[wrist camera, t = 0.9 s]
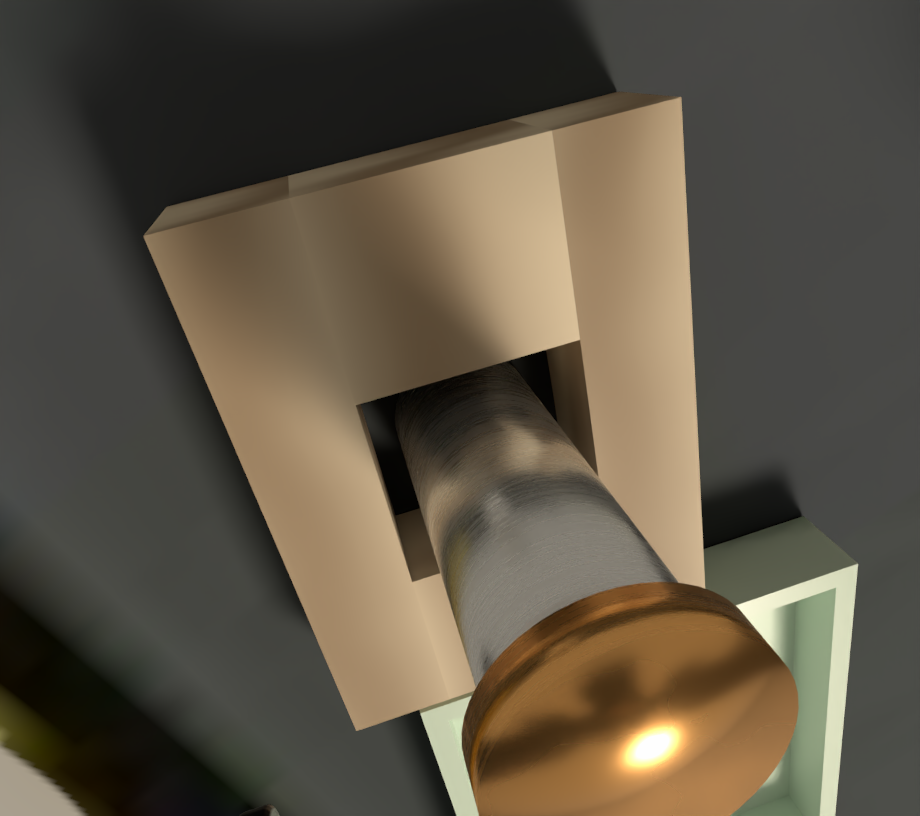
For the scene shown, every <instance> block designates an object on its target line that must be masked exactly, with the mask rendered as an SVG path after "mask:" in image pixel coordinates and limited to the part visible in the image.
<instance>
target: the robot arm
mask: <svg viewBox="0 0 920 816" xmlns="http://www.w3.org/2000/svg"><path fill="white" fill-rule="evenodd" d="M239 816H280V815H279V813H278V811H277V810H276V808H275V807H274V806H272V805H270V804H267V805H264V806H261V807H258V808H255V809H252V810H249V811H246V812H244V813H242V814H240V815H239Z"/></svg>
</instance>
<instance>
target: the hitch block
mask: <svg viewBox="0 0 920 816" xmlns="http://www.w3.org/2000/svg"><path fill="white" fill-rule="evenodd" d="M143 237H144V239H145V241H146V244H147V246H148V248H149V251H150V253H151V255H152V258H153V260H154V262H155V265H156V267H157V269H158V272H159V274H160V276H161V279H162V281H163V283H164V286H165V288H166V290H167V293H168V295H169V297H170V299H171V302H172V304H173V306H174V309H175V311H176V313H177V316H178V318H179V320H180V323H181V325H182V327H183V330H184V332H185V334H186V337H187V339H188V341H189V344H190V346H191V348H192V351H193V353H194V355H195V357H196V360H197V362H198V364H199V367H200V369H201V371H202V374H203V376H204V378H205V381H206V383H207V385H208V388H209V390H210V392H211V395H212V397H213V399H214V402H215V404H216V406H217V409H218V411H219V413H220V415H221V418H222V420H223V422H224V425H225V427H226V429H227V432H228V434H229V436H230V439H231V441H232V443H233V446H234V448H235V450H236V453H237V455H238V457H239V460H240V462H241V464H242V467H243V469H244V471H245V474H246V476H247V478H248V480H249V483H250V485H251V487H252V490H253V492H254V494H255V497H256V499H257V501H258V504H259V506H260V508H261V511H262V513H263V515H264V518H265V520H266V522H267V525H268V527H269V529H270V532H271V534H272V536H273V538H274V541H275V543H276V545H277V548H278V550H279V552H280V555H281V557H282V559H283V562H284V564H285V566H286V569H287V571H288V573H289V576H290V578H291V580H292V583H293V585H294V587H295V590H296V592H297V594H298V597H299V599H300V601H301V603H302V606H303V608H304V610H305V613H306V615H307V617H308V620H309V622H310V624H311V627H312V629H313V631H314V634H315V636H316V638H317V641H318V643H319V645H320V648H321V650H322V652H323V655H324V657H325V659H326V661H327V664H328V666H329V668H330V671H331V673H332V675H333V678H334V680H335V682H336V685H337V687H338V689H339V692H340V694H341V696H342V699H343V701H344V703H345V706H346V708H347V710H348V713H349V715H350V717H351V719H352V722H353V724H354V726H355V729H356V731H358V730H361V729H364V728H367V727H370V726H373V725H376V724H379V723H382V722H385V721H388V720H390V719H393V718H396V717H399V716H402V715H405V714H408V713H411V712H414V711H417V710H420V709H423V708H426V707H428V706H431V705H434V704H437V703H440V702H443V701H446V700H449V699H452V698H455V697H458V696H461V695H464V694H467V693H469V692H472V691H475V689H476V686H475V683H474V680H473V677H472V673H471V670H470V667H469V664H468V661H467V657H466V654H465V651H464V648H463V644H462V641H461V638H460V635H459V632H458V628H457V625H456V622H455V619H454V615H453V612H452V609H451V606H450V602H449V599H448V596H447V593H446V590H445V586H444V583H443V580H442V577H441V573H440V570H439V567H438V564H437V561H436V557H435V554H434V551H433V548H432V544H431V541H430V538H429V535H428V532H427V528H426V525H425V522H424V519H423V515H422V512H421V509H420V508H419V509H416V510H412V511H409V512H406V513H403V514H399V515H396V516H395V512H394V509H393V506H392V503H391V500H390V497H389V493H388V490H387V487H386V484H385V481H384V478H383V474H382V471H381V468H380V465H379V462H378V459H377V456H376V452H375V449H374V446H373V443H372V440H371V437H370V433H369V430H368V427H367V424H366V421H365V418H364V414H363V411H362V408H361V405H360V404H362V403H365V402H369V401H372V400H376V399H379V398H382V397H386V396H389V395H393V394H396V393H400V392H403V391H406V390H410V389H413V388H417V387H420V386H423V385H427V384H430V383H434V382H437V381H441V380H444V379H447V378H451V377H454V376H458V375H461V374H465V373H468V372H471V371H475V370H478V369H482V368H485V367H489V366H492V365H495V364H499V363H502V362H506V361H509V360H512V359H516V358H519V357H523V356H526V355H530V354H533V353H536V352H540V351H543V350H546V354H547V360H548V366H549V372H550V378H551V384H552V391H553V397H554V403H555V409H556V415H557V422H558V425H559V426H560V427H561V429H562V430H563V431H564V433H565V434H566V435H567V437H568V438H569V439H570V440H571V442H572V443H573V444H574V446H575V447H576V448H577V450H578V451H579V452H580V454H581V455H582V456H583V457H584V459H585V460H586V461H587V463H588V464H589V465H590V467H591V468H592V469H593V471H594V472H595V473H596V475H597V476H598V477H599V478H600V480H601V481H602V482H603V484H604V485H605V486H606V488H607V489H608V490H609V492H610V493H611V494H612V495H613V497H614V498H615V499H616V501H617V502H618V503H619V505H620V506H621V507H622V509H623V510H624V511H625V512H626V514H627V515H628V516H629V518H630V519H631V520H632V522H633V523H634V524H635V526H636V527H637V528H638V530H639V531H640V532H641V533H642V535H643V536H644V537H645V539H646V540H647V541H648V543H649V544H650V545H651V547H652V548H653V549H654V550H655V552H656V553H657V554H658V556H659V557H660V558H661V560H662V561H663V562H664V564H665V565H666V566H667V568H668V569H669V570H670V571H671V573H672V574H673V575H674V577H675V578H676V579H677V581H678V582H679V583H684V584H689V585H694V586H699V587H702V588H705V572H704V552H703V531H702V511H701V490H700V470H699V450H698V429H697V409H696V388H695V368H694V348H693V327H692V307H691V286H690V266H689V245H688V225H687V205H686V184H685V164H684V143H683V123H682V103H681V97H674V96H662V95H651V94H639V93H627V92H615V93H611V94H607V95H603V96H600V97H596V98H592V99H588V100H584V101H580V102H576V103H572V104H568V105H564V106H560V107H556V108H552V109H549V110H545V111H541V112H537V113H533V114H529V115H525V116H521V117H517V118H513V119H509V120H505V121H501V122H497V123H494V124H490V125H486V126H482V127H478V128H474V129H470V130H466V131H462V132H458V133H454V134H450V135H446V136H442V137H439V138H435V139H431V140H427V141H423V142H419V143H415V144H411V145H407V146H403V147H399V148H395V149H391V150H388V151H384V152H380V153H376V154H372V155H368V156H364V157H360V158H356V159H352V160H348V161H344V162H340V163H336V164H333V165H329V166H325V167H321V168H317V169H313V170H309V171H305V172H301V173H297V174H293V175H289V176H285V177H282V178H278V179H274V180H270V181H266V182H262V183H258V184H254V185H250V186H246V187H242V188H238V189H234V190H230V191H227V192H223V193H219V194H215V195H211V196H207V197H203V198H199V199H195V200H191V201H187V202H183V203H179V204H175V205H172V206H168V207H166V208H165V209H164V211H163V212H162V213H161V214H160V216H159V217H158V218H157V219H156V221H155V222H154V223H153V224H152V226H151V227H150V228H149V229H148V231H147V232H146V233H145V234H144V236H143Z"/></svg>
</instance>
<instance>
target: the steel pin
mask: <svg viewBox="0 0 920 816" xmlns="http://www.w3.org/2000/svg"><path fill="white" fill-rule="evenodd" d="M395 426H396V431H397V435H398V438H399V441H400V445H401V448H402V451H403V454H404V457H405V461H406V464H407V467H408V470H409V474H410V477H411V480H412V483H413V486H414V490H415V493H416V496H417V499H418V503H419V506H420V509H421V512H422V515H423V519H424V522H425V525H426V528H427V532H428V535H429V538H430V541H431V544H432V548H433V551H434V554H435V557H436V561H437V564H438V567H439V570H440V573H441V577H442V580H443V583H444V586H445V590H446V593H447V596H448V599H449V602H450V606H451V609H452V612H453V615H454V619H455V622H456V625H457V628H458V632H459V635H460V638H461V641H462V644H463V648H464V651H465V654H466V657H467V661H468V664H469V667H470V670H471V673H472V677H473V680H474V683H475V686H476V689H475V691H474V693H473V695H472V697H471V699H470V701H469V704H468V707H467V710H466V713H465V716H464V720H463V726H462V732H461V735H462V751H463V756H464V760H465V764H466V768H467V772H468V776H469V779H470V783H471V787H472V791H473V795H474V799H475V802H476V806H477V810H478V814H479V816H730V815H731V814H733V813H734V812H735V811H736V810H738V809H739V808H740V807H741V806H742V805H743V804H744V803H745V802H746V801H748V800H749V799H750V798H751V797H752V796H753V795H754V794H755V793H756V792H757V790H758V789H759V788H760V787H761V786H762V785H763V784H764V783H765V782H766V780H767V779H768V778H769V776H770V775H771V774H772V772H773V771H774V770H775V768H776V767H777V766H778V764H779V762H780V760H781V759H782V757H783V755H784V754H785V752H786V750H787V748H788V745H789V743H790V741H791V739H792V736H793V733H794V730H795V726H796V723H797V716H798V709H799V704H798V691H797V688H796V684H795V680H794V678H793V676H792V674H791V672H790V670H789V668H788V667H787V666H786V664H785V663H784V662H783V661H782V659H781V658H780V657H779V656H778V655H777V653H776V652H775V651H774V650H773V649H772V647H771V646H770V645H769V644H768V643H767V641H766V640H765V639H764V638H763V637H762V635H761V634H760V633H759V632H758V631H757V630H756V628H755V627H754V626H753V625H752V624H751V622H750V621H749V620H748V619H747V618H746V616H745V615H744V614H743V613H742V612H741V610H740V609H739V608H738V607H737V606H735V605H734V604H733V603H732V602H730V601H729V600H728V599H726V598H724V597H723V596H721V595H719V594H717V593H715V592H713V591H710V590H708V589H705V588H702V587H699V586H694V585H689V584H684V583H679V582H678V581H677V579H676V578H675V577H674V575H673V574H672V573H671V571H670V570H669V569H668V568H667V566H666V565H665V564H664V562H663V561H662V560H661V558H660V557H659V556H658V554H657V553H656V552H655V550H654V549H653V548H652V547H651V545H650V544H649V543H648V541H647V540H646V539H645V537H644V536H643V535H642V533H641V532H640V531H639V530H638V528H637V527H636V526H635V524H634V523H633V522H632V520H631V519H630V518H629V516H628V515H627V514H626V512H625V511H624V510H623V509H622V507H621V506H620V505H619V503H618V502H617V501H616V499H615V498H614V497H613V495H612V494H611V493H610V492H609V490H608V489H607V488H606V486H605V485H604V484H603V482H602V481H601V480H600V478H599V477H598V476H597V475H596V473H595V472H594V471H593V469H592V468H591V467H590V465H589V464H588V463H587V461H586V460H585V459H584V457H583V456H582V455H581V454H580V452H579V451H578V450H577V448H576V447H575V446H574V444H573V443H572V442H571V440H570V439H569V438H568V437H567V435H566V434H565V433H564V431H563V430H562V429H561V427H560V426H559V425H558V423H557V422H556V421H555V420H554V418H553V417H552V416H551V414H550V413H549V412H548V410H547V409H546V408H545V406H544V405H543V404H542V402H541V401H540V400H539V399H538V397H537V396H536V395H535V393H534V392H533V391H532V389H531V388H530V387H529V385H528V384H527V383H526V382H525V380H524V379H523V378H522V376H521V375H520V374H519V372H518V371H517V370H516V369H515V368H514V366H512V365H511V364H510V363H509V362H508V361H506V362H502V363H499V364H495V365H492V366H489V367H485V368H482V369H478V370H475V371H471V372H468V373H465V374H461V375H458V376H454V377H451V378H447V379H444V380H441V381H437V382H434V383H430V384H427V385H423V386H420V387H417V388H413V389H410V390H406V391H403V392H400V395H399V397H398V400H397V404H396V408H395Z"/></svg>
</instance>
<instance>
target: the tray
mask: <svg viewBox="0 0 920 816" xmlns="http://www.w3.org/2000/svg"><path fill="white" fill-rule="evenodd" d="M703 552H704V572H705V589H708V590H710V591H713V592H715V593H717V594H719V595H721V596H723V597H724V598H726V599H728V600H729V601H730V602H732V603H733V604H734V605H735V606H737V607H738V608H739V609H740V610H741V612H742V613H743V614H744V615H745V616H746V618H747V619H748V620H749V621H750V622H751V624H752V625H753V626H754V627H755V628H756V630H757V631H758V632H759V633H760V634H761V635H762V637H763V638H764V639H765V640H766V641H767V643H768V644H769V645H770V646H771V647H772V649H773V650H774V651H775V652H776V653H777V655H778V656H779V657H780V658H781V659H782V661H783V662H784V663H785V664H786V666H787V667H788V668H789V670H790V672H791V674H792V676H793V678H794V680H795V684H796V688H797V691H798V704H799V709H798V716H797V723H796V726H795V730H794V733H793V736H792V739H791V741H790V743H789V745H788V748H787V750H786V752H785V754H784V755H783V757H782V759H781V760H780V762H779V764H778V766H777V767H776V768H775V770H774V771H773V772H772V774H771V775H770V776H769V778H768V779H767V780H766V782H765V783H764V784H763V785H762V786H761V787H760V788H759V789H758V790H757V792H756V793H755V794H754V795H753V796H752V797H751V798H750V799H749V800H748V801H746V802H745V803H744V804H743V805H742V806H741V807H740V808H739V809H738V810H736V811H735V812H734V813H733V814H731V815H730V816H835V811H836V800H837V789H838V778H839V767H840V756H841V745H842V734H843V723H844V712H845V701H846V690H847V679H848V668H849V657H850V646H851V635H852V624H853V613H854V602H855V591H856V580H857V569H858V563H857V562H856V561H854V560H853V559H852V558H851V557H850V556H849V555H847V554H846V553H845V552H844V551H843V550H842V549H841V548H839V547H838V546H837V545H836V544H835V543H834V542H833V541H831V540H830V539H829V538H828V537H827V536H826V535H825V534H823V533H822V532H821V531H820V530H819V529H818V528H816V527H815V526H814V525H813V524H812V523H811V522H810V521H808V520H807V519H806V518H805V517H804V516H802V517H799V518H796V519H793V520H790V521H787V522H784V523H781V524H778V525H775V526H772V527H769V528H766V529H763V530H760V531H757V532H754V533H751V534H748V535H745V536H742V537H739V538H736V539H733V540H730V541H727V542H724V543H721V544H718V545H715V546H712V547H709V548H706V549H703ZM473 693H474V691H472V692H469V693H467V694H464V695H461V696H458V697H455V698H452V699H449V700H446V701H443V702H440V703H437V704H434V705H431V706H428V707H426V708H423V709H420V714H421V717H422V720H423V723H424V726H425V728H426V731H427V734H428V737H429V740H430V743H431V745H432V748H433V751H434V754H435V757H436V759H437V762H438V765H439V768H440V771H441V773H442V776H443V779H444V782H445V785H446V787H447V790H448V793H449V796H450V799H451V802H452V804H453V807H454V810H455V813H456V816H479V814H478V810H477V806H476V802H475V799H474V795H473V791H472V787H471V783H470V779H469V776H468V772H467V768H466V764H465V760H464V756H463V751H462V735H461V732H462V726H463V720H464V716H465V713H466V710H467V707H468V704H469V701H470V699H471V697H472V695H473Z"/></svg>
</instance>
